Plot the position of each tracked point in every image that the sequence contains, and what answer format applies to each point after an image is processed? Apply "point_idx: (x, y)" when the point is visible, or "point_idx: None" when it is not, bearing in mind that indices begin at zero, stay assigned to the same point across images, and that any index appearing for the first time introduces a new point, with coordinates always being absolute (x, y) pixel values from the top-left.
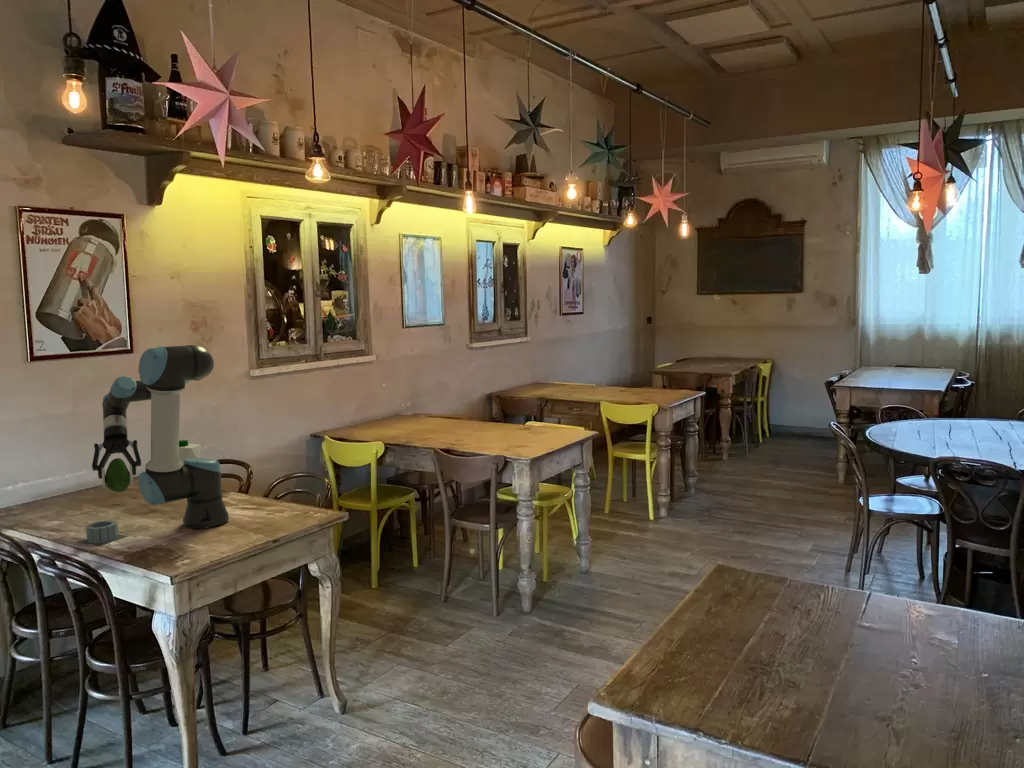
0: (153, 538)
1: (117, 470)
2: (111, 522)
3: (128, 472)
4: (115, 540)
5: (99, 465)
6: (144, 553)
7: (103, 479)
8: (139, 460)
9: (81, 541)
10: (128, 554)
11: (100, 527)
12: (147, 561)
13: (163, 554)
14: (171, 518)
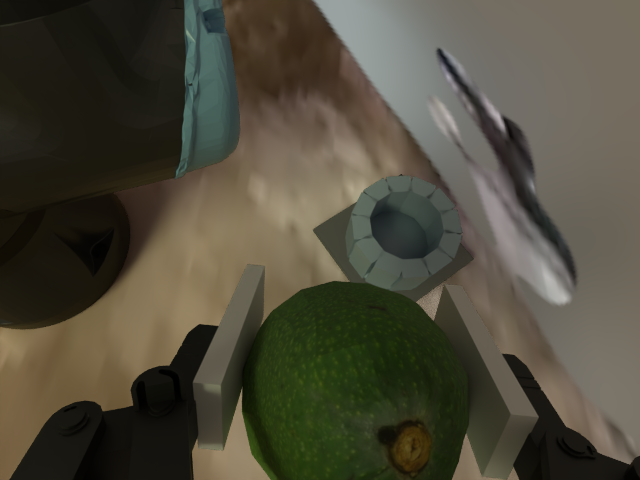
0: (247, 173)
1: (359, 290)
2: (371, 232)
3: (256, 341)
4: (355, 204)
5: (586, 464)
6: (291, 64)
7: (463, 307)
8: (64, 419)
9: (458, 257)
10: (328, 78)
11: (409, 186)
12: (293, 11)
13: (251, 34)
14: (128, 399)
